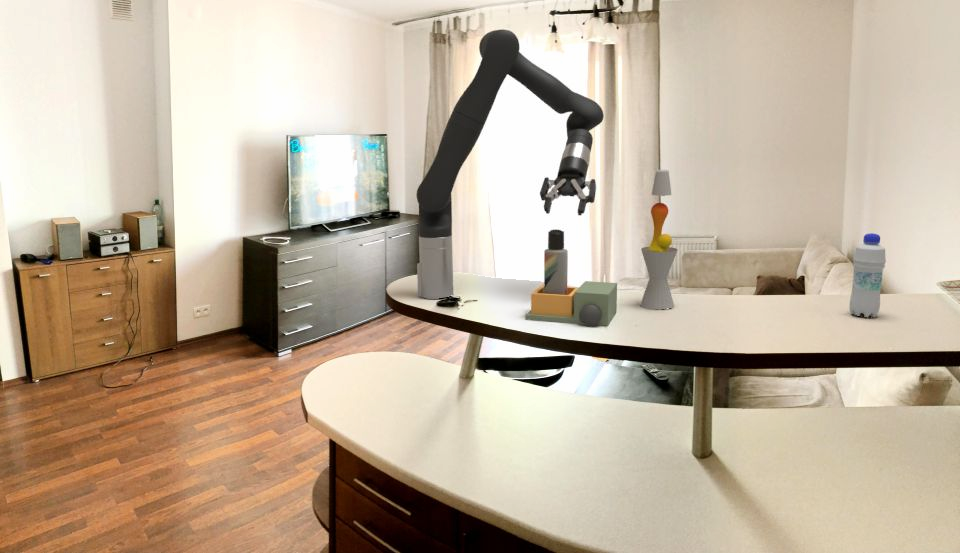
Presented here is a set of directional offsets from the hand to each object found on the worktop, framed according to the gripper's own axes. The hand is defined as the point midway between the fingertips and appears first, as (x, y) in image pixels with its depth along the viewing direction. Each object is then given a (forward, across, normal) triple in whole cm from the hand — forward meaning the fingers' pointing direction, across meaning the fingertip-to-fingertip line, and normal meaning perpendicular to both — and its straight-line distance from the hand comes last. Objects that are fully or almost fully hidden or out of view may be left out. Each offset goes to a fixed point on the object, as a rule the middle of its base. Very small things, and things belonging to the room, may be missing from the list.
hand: (563, 212), depth 169 cm
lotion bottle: (+25, +2, +7) cm, 26 cm away
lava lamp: (+14, +25, +20) cm, 35 cm away
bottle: (+10, +72, +23) cm, 77 cm away
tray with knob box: (+25, +6, +8) cm, 27 cm away
